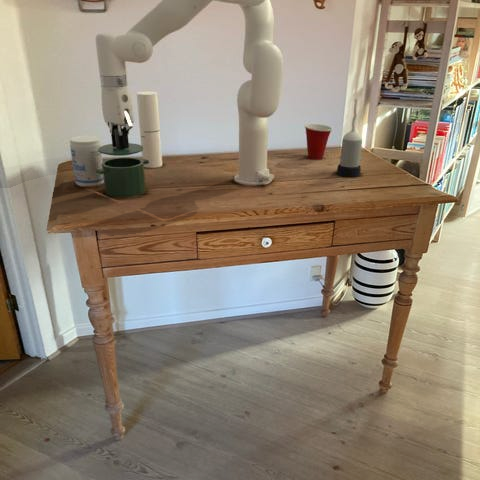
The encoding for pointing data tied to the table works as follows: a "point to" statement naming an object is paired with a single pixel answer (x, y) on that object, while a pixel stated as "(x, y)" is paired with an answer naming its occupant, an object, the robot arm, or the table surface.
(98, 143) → the supplement tub
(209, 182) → the table surface
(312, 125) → the plastic cup
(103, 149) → the lid
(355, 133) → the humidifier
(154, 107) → the cylindrical container
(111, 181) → the green cooking pot
